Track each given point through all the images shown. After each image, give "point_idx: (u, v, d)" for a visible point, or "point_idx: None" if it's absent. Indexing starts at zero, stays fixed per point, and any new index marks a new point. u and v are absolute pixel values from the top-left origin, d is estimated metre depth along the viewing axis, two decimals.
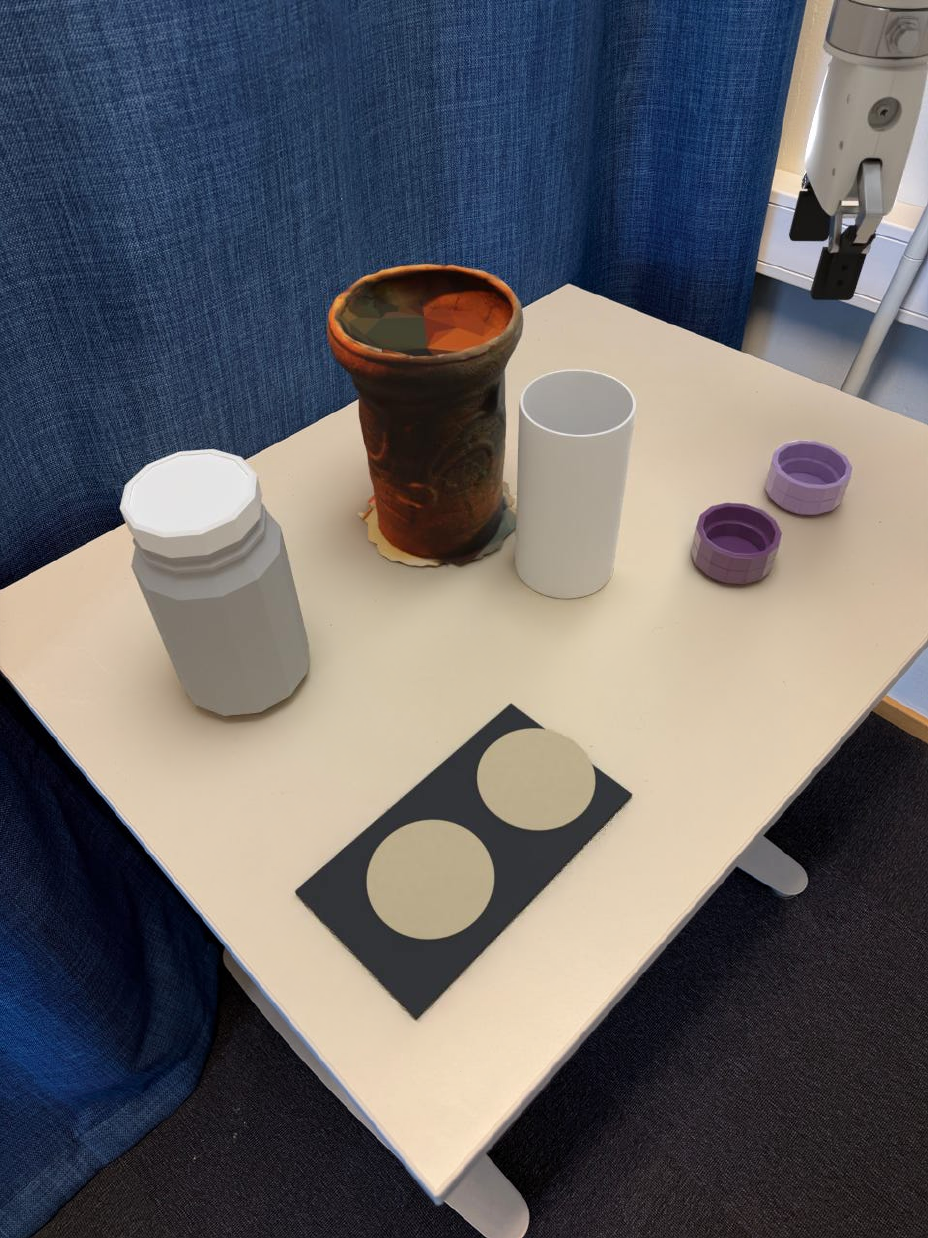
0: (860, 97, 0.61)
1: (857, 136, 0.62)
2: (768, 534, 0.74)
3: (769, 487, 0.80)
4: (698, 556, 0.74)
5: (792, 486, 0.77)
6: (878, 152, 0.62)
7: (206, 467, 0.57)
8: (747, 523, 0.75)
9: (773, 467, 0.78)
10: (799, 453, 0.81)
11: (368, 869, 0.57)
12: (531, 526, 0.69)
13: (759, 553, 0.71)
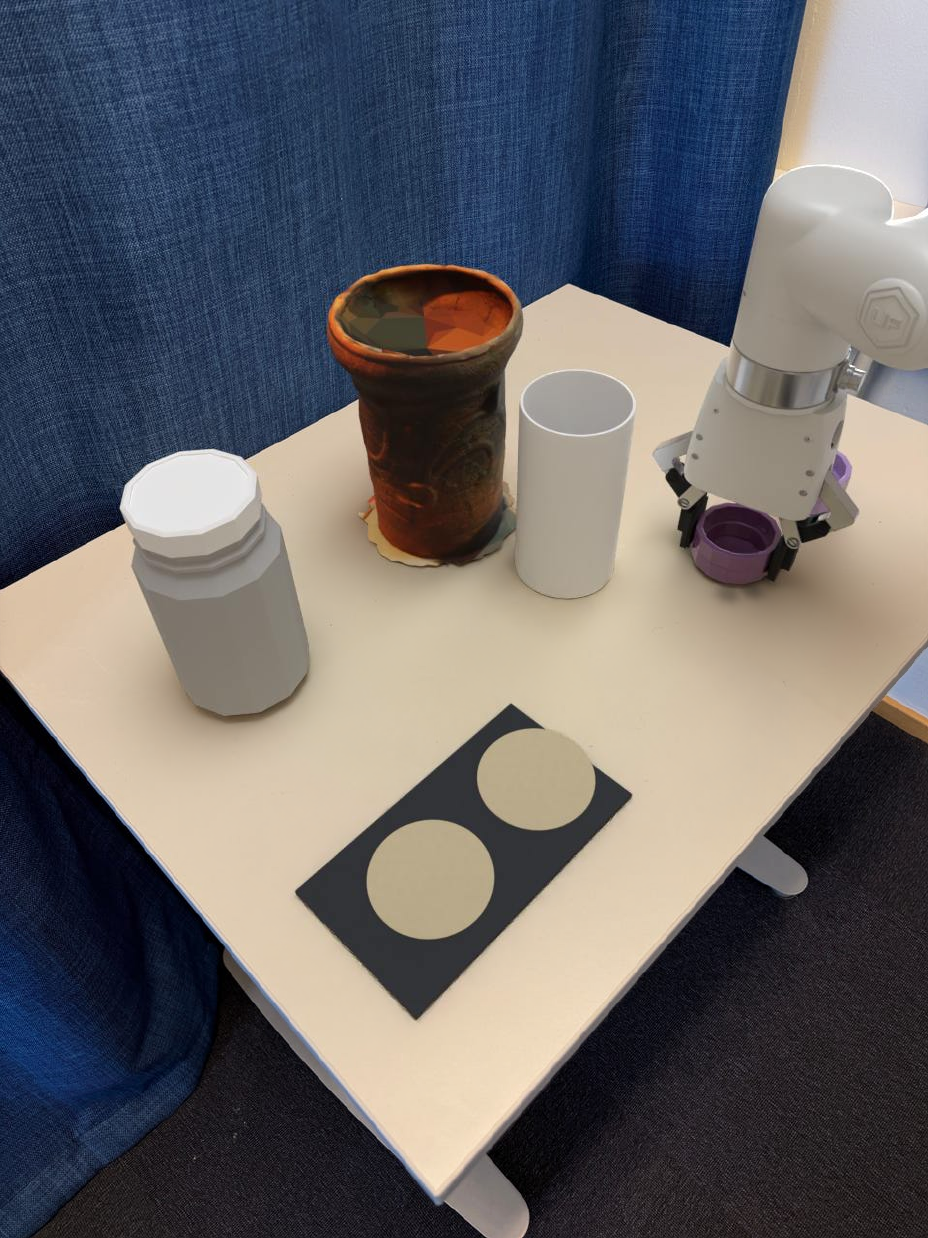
0: (826, 434, 0.61)
1: (825, 461, 0.63)
2: (768, 534, 0.74)
3: None
4: (698, 556, 0.74)
5: None
6: (832, 460, 0.65)
7: (206, 467, 0.57)
8: (747, 523, 0.75)
9: None
10: None
11: (368, 869, 0.57)
12: (531, 526, 0.69)
13: (759, 553, 0.71)
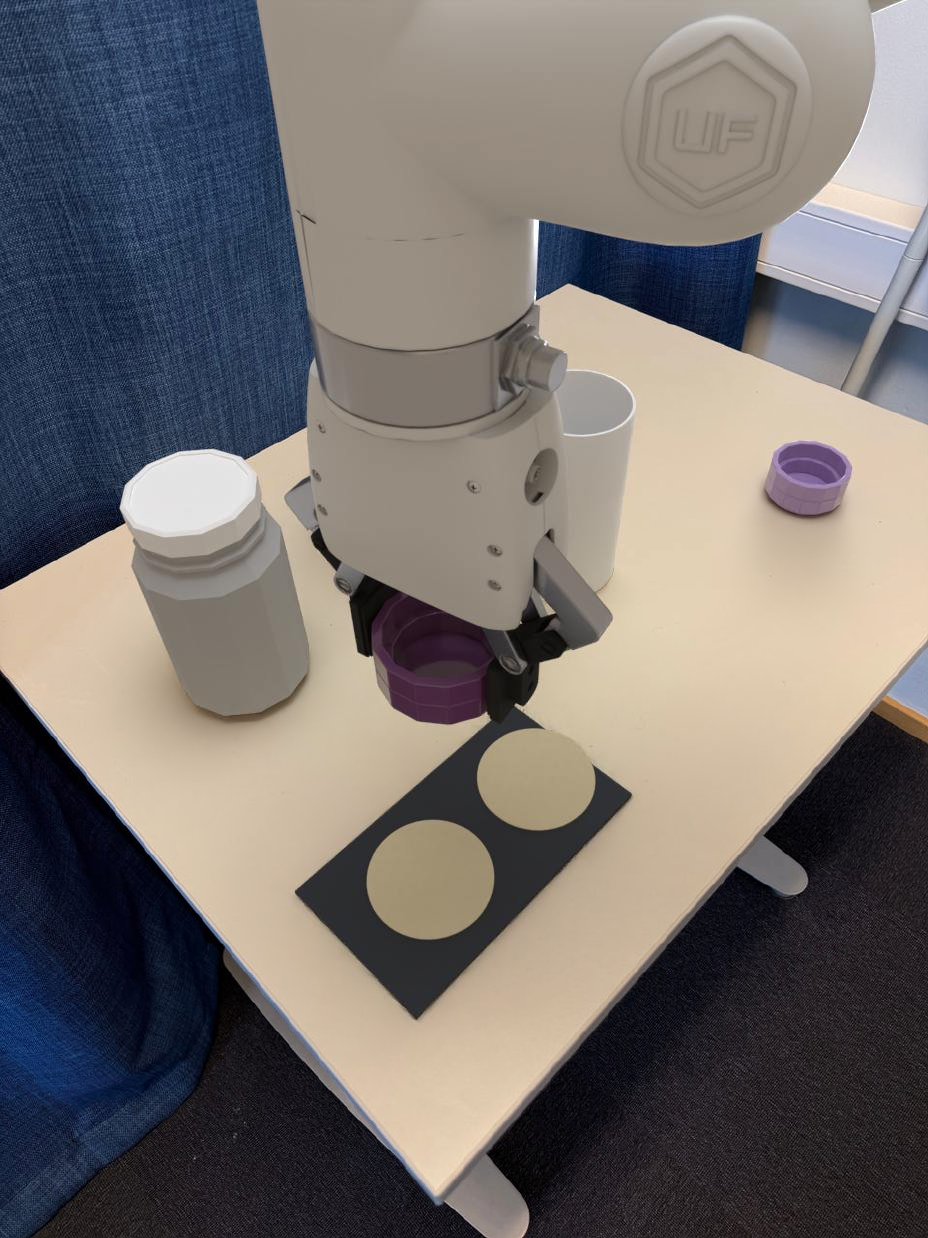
0: (505, 479, 0.31)
1: (521, 528, 0.32)
2: None
3: (769, 487, 0.80)
4: (378, 674, 0.43)
5: (792, 486, 0.77)
6: (548, 524, 0.34)
7: (206, 467, 0.57)
8: None
9: (773, 467, 0.78)
10: (799, 453, 0.81)
11: (368, 869, 0.57)
12: None
13: (464, 677, 0.40)
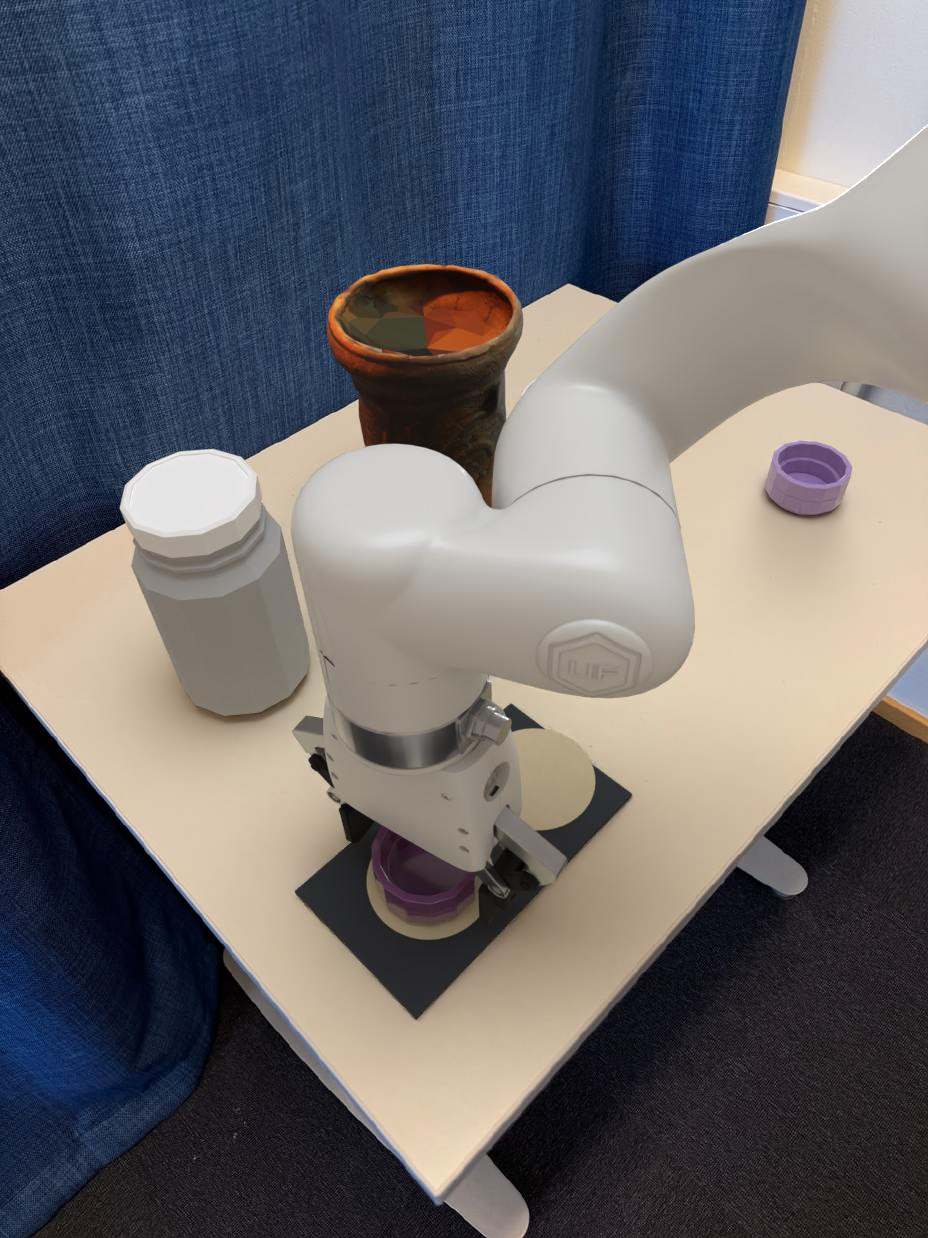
0: (468, 793, 0.42)
1: (482, 818, 0.44)
2: None
3: (769, 487, 0.80)
4: (377, 882, 0.55)
5: (792, 486, 0.77)
6: (503, 804, 0.45)
7: (206, 467, 0.57)
8: None
9: (773, 467, 0.78)
10: (799, 453, 0.81)
11: (368, 869, 0.57)
12: None
13: (443, 895, 0.52)
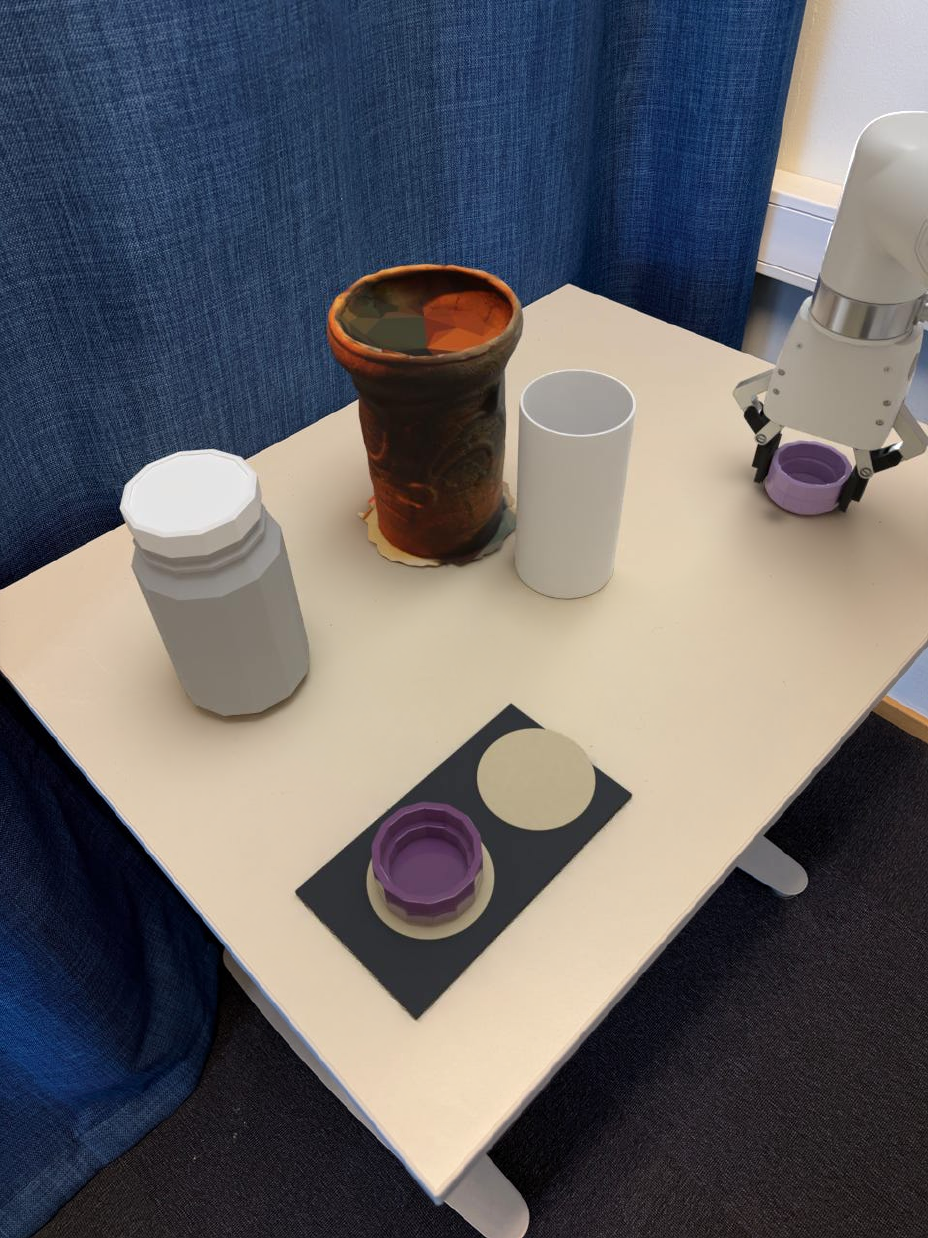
0: (904, 365, 0.67)
1: (902, 391, 0.68)
2: (472, 850, 0.55)
3: (769, 487, 0.80)
4: (377, 882, 0.55)
5: (792, 486, 0.77)
6: (906, 392, 0.70)
7: (206, 467, 0.57)
8: (452, 828, 0.57)
9: (773, 467, 0.78)
10: (799, 453, 0.81)
11: (368, 869, 0.57)
12: (531, 526, 0.69)
13: (443, 895, 0.52)
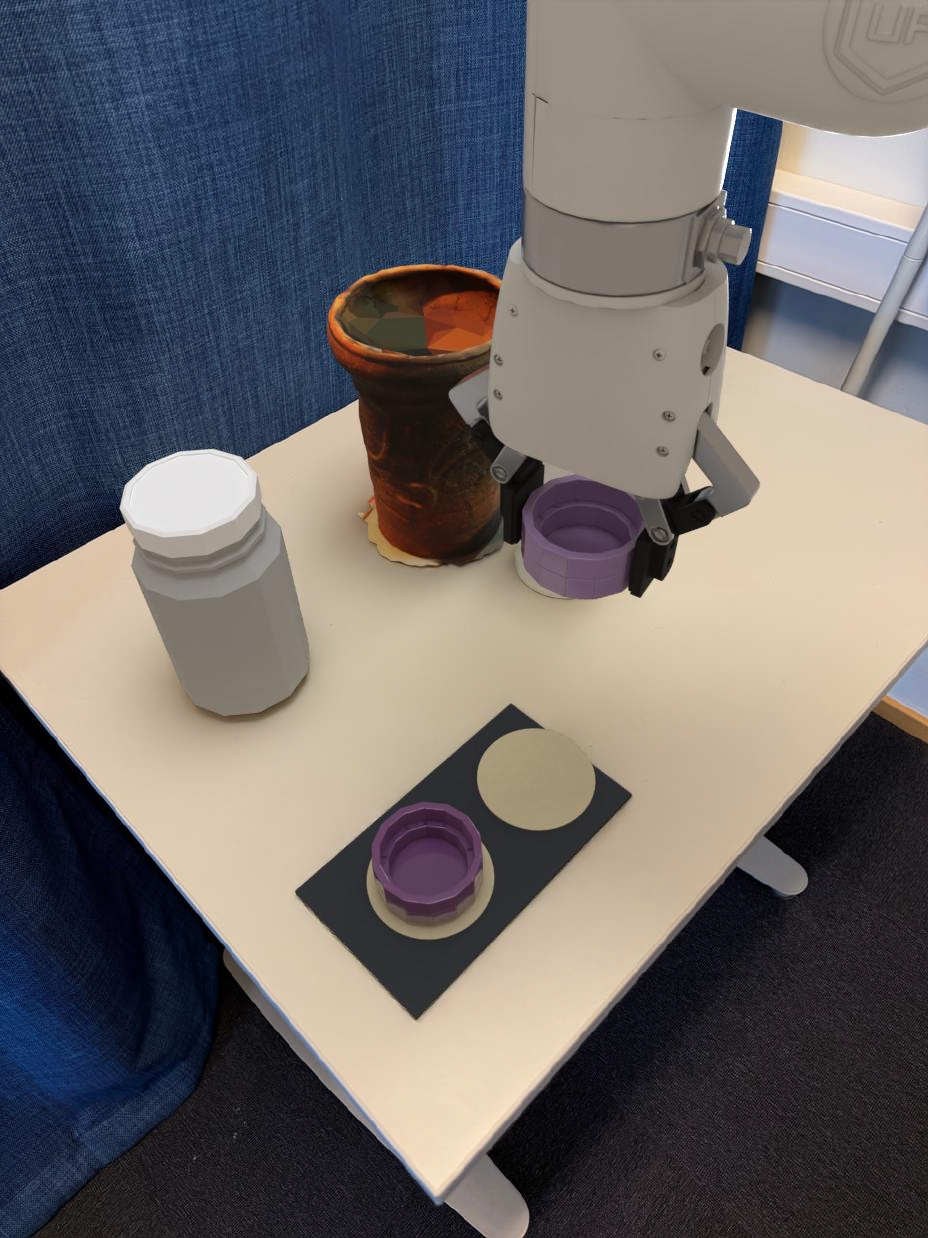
0: (688, 346, 0.35)
1: (693, 395, 0.37)
2: (472, 850, 0.55)
3: (523, 552, 0.48)
4: (377, 882, 0.55)
5: (547, 554, 0.46)
6: (710, 397, 0.39)
7: (206, 467, 0.57)
8: (452, 828, 0.57)
9: (523, 520, 0.47)
10: (579, 495, 0.50)
11: (368, 869, 0.57)
12: None
13: (443, 895, 0.52)
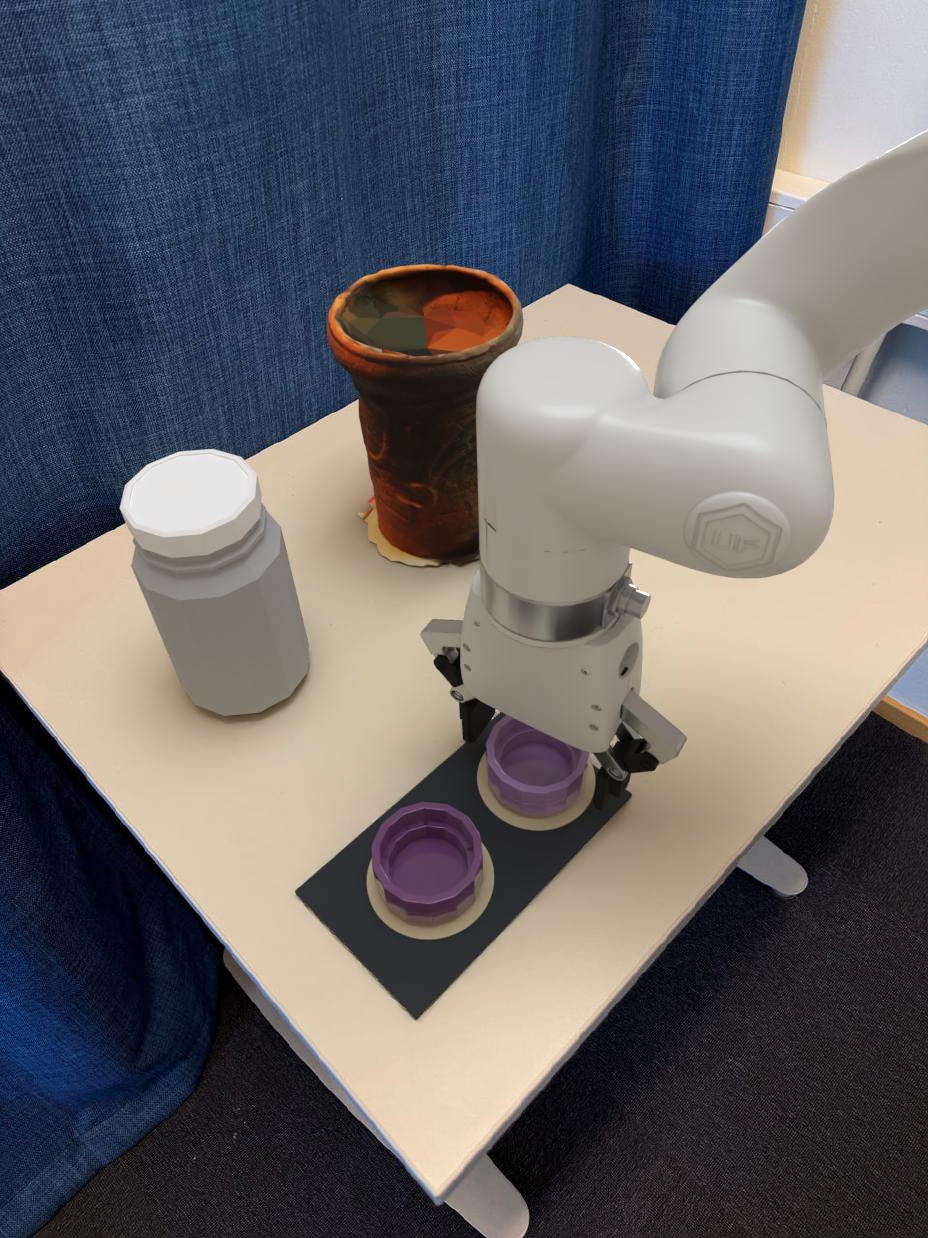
0: (607, 668, 0.46)
1: (615, 694, 0.48)
2: (472, 850, 0.55)
3: (487, 773, 0.60)
4: (377, 882, 0.55)
5: (504, 785, 0.57)
6: (630, 686, 0.50)
7: (206, 467, 0.57)
8: (452, 828, 0.57)
9: (486, 752, 0.59)
10: None
11: (368, 869, 0.57)
12: None
13: (443, 895, 0.52)
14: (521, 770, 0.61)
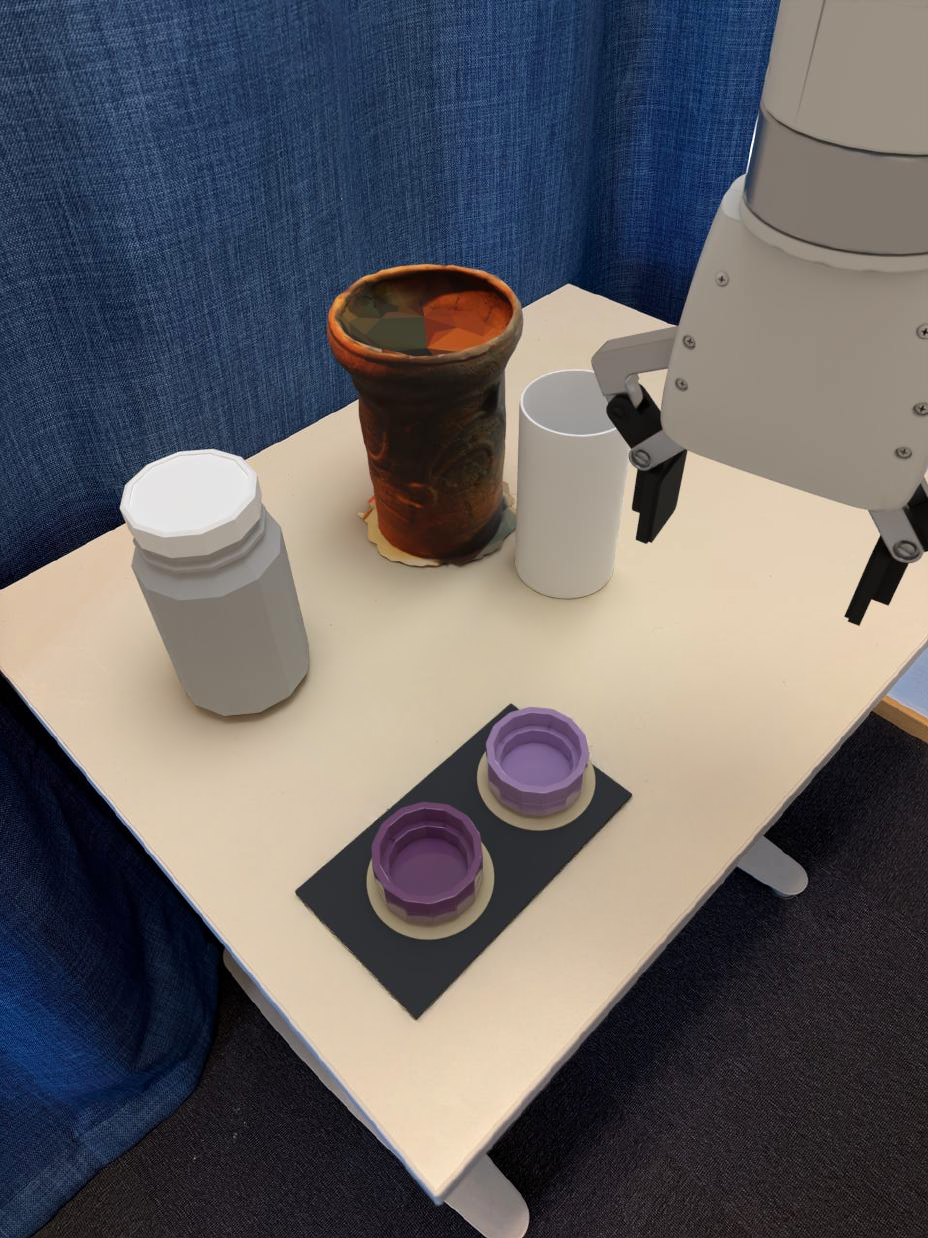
0: None
1: None
2: (472, 850, 0.55)
3: (487, 773, 0.60)
4: (377, 882, 0.55)
5: (504, 785, 0.57)
6: None
7: (206, 467, 0.57)
8: (452, 828, 0.57)
9: (486, 752, 0.59)
10: (533, 722, 0.62)
11: (368, 869, 0.57)
12: (531, 526, 0.69)
13: (443, 895, 0.52)
14: (521, 770, 0.61)
